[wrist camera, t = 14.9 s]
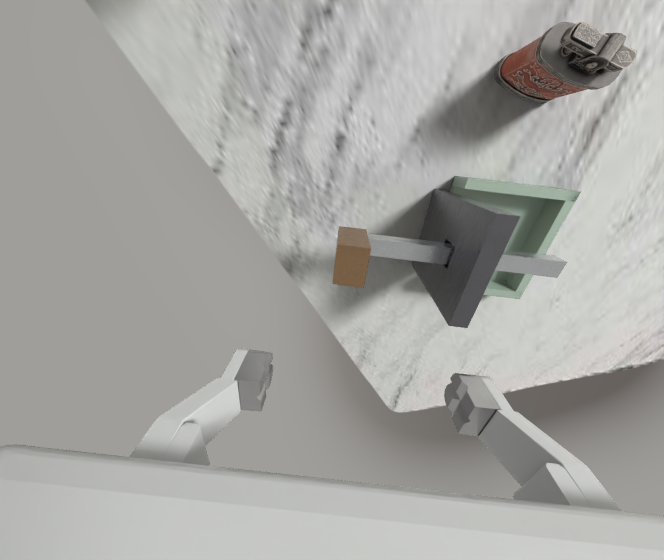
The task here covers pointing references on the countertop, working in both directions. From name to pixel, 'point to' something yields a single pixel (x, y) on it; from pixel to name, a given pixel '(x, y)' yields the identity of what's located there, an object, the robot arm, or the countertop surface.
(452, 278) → the bearing plate
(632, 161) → the countertop surface
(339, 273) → the shaft
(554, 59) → the lighter
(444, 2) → the countertop surface
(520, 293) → the tray
